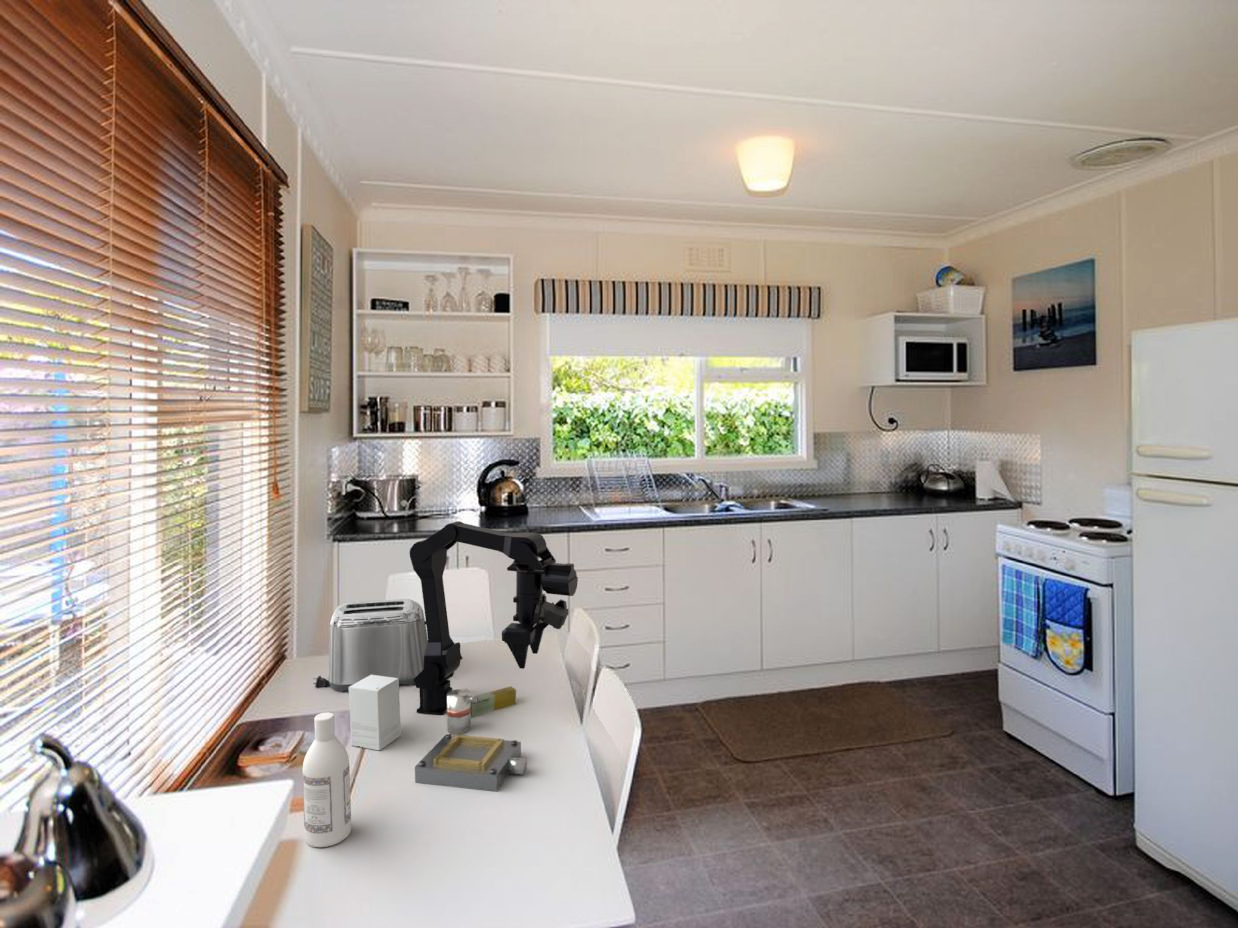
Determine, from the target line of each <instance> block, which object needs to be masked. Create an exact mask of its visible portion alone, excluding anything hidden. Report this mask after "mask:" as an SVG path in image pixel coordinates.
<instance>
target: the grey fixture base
mask: <svg viewBox="0 0 1238 928" xmlns="http://www.w3.org/2000/svg"><path fill="white" fill-rule="evenodd" d="M521 742H522V741H518V740H508V739H507V740H506V739H504V738H496V737H495V738H494V737H487V736H486V737H485V736H474V735H465V734H463V735H451V734H449V733H447V734H445V735H444V736H443V737H442V738H441V739H440V740H439V741H438V742H437V743H436V744H435V745H434V746H433V748H432V749H430V751H429V752H428V753H427V754H425V755H424V757H423V758H422V759H421V760H420V761H419V762H418V763H417V764H416V765H415V766H414V783H417V784H425V785H426V784H427V785H435V786H443V787H444V786H445V787H453V788H462V789H463V788H464V789H471V790H477V791H479V790H480V791H488V792H489V791H490V792H498V790H499V789H500V788H501V786H503V783H505V780H507V778H508V776H509V774H513V775H514V774H515V775H523V776H524V775H525V774H526V770H527V766H528V761H527V758H525V757H524V758H523V757H522V743H521Z"/></svg>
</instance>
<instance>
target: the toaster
mask: <svg viewBox="0 0 1238 928" xmlns="http://www.w3.org/2000/svg"><path fill="white" fill-rule="evenodd" d="M329 622H330V623H329V646H328V647H329V648H328V649H329V652H328V657H329V659H328V679H327V678H324V677H322V676H321V675H319V676H318V677H314V678H313V680H316V682H313V684H312V685H315V688H319V687H321V688H324V687H331V689H332V690H334V691H338V692H340V693H341V692H349V687H350V686H352V685H353V684H355V683H357V682H359V681H360V680H362V679H364V678H366V677H368V676H370V675H378V676H385V677H393V678H399V685H400V684H401V685H404V686H408V685H415V683H414V678H415V677H416V676H417V675H418V674H419V673H420V672H421V671H422V670H423V669H424V668H423V667H424V654H425V650H426V647H427V644H428V635H427V627H426V619H425V612H424V609H423V607H422V605H420V604H419V603H418V602H417V601H415V600H412V599H410V598H409V599H408V598H399V599H398V598H397V599H396V598H395V599H381V600H369V601H368V600H367V601H357V602H355V601H354V602H345V603H341V604H339V605H338V606H337V607H336V608H335V610H334V612H333V614H332V616H331V619H330V621H329Z"/></svg>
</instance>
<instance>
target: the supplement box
mask: <svg viewBox="0 0 1238 928" xmlns="http://www.w3.org/2000/svg"><path fill="white" fill-rule="evenodd" d="M348 704H349V707H348V708H349V726H350V727H349V728H350V745H357V746H360V747H359V748H362V747H363V749H369V750H374V751H375V750H376V751H381V750H382V749H384V748H385V747H387V746H388V745H389V744H392V742H394V741H395V740H396V739H398V738H399V737H401V735H402V731H401V708H400V707H401V704H400V683H399V678H393V677H385V676H378V675H370V676H368V677H366V678H364V679H362V680H360V681H359V682H357V683H355V684H353V685H352V686H350V687H349V691H348Z"/></svg>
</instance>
